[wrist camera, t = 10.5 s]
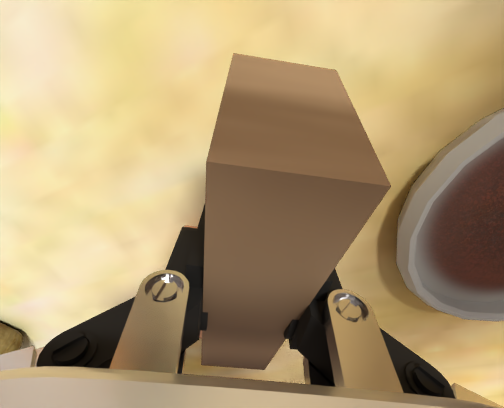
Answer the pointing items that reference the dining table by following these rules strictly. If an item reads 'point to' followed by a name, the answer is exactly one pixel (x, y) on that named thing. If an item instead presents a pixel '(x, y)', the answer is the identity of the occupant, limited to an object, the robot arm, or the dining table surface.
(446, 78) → the dining table surface
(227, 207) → the plate
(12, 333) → the fennel bulb
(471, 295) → the frying pan
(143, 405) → the robot arm
